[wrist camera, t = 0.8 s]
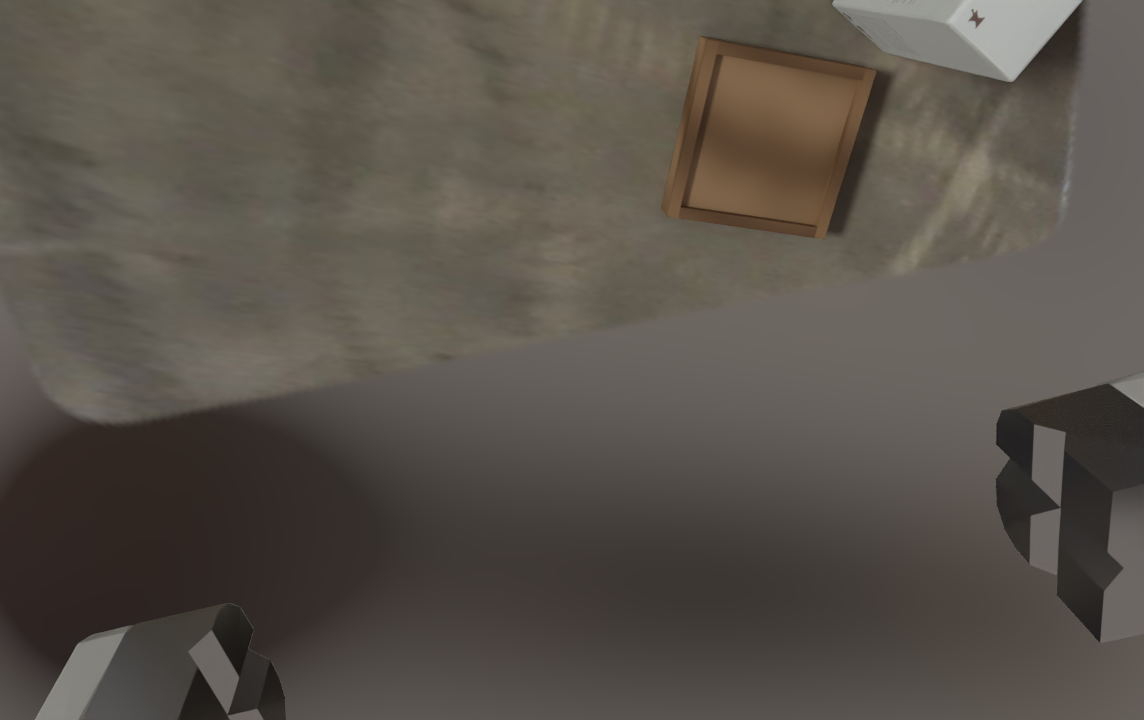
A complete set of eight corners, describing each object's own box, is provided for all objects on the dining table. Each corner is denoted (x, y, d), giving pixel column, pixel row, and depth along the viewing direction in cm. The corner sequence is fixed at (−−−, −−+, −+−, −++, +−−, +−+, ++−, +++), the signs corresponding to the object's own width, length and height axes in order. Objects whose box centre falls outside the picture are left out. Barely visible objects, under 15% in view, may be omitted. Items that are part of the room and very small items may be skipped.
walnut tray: (699, 35, 44) (707, 39, 43) (863, 66, 46) (876, 70, 44) (661, 207, 48) (667, 216, 46) (813, 230, 50) (824, 239, 48)
